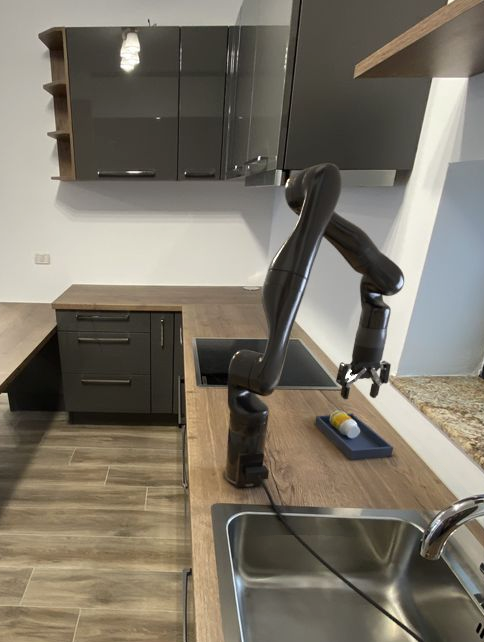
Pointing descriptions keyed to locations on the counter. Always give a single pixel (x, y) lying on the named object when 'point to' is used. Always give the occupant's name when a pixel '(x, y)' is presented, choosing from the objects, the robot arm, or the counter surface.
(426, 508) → the counter surface
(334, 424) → the supplement bottle
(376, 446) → the tray
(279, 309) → the robot arm
